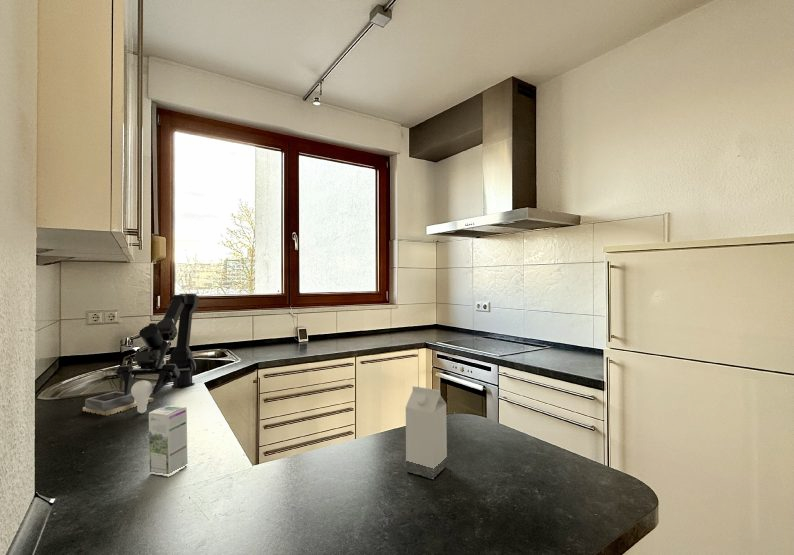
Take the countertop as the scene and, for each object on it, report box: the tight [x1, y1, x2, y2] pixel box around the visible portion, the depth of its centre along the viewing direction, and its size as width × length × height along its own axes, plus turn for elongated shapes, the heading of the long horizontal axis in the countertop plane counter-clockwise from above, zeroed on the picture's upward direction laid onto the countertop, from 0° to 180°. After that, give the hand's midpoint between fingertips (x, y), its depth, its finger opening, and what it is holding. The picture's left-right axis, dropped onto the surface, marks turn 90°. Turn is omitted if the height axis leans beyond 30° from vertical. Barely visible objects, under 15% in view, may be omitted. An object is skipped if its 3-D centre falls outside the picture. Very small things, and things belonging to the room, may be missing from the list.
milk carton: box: [405, 385, 448, 469], centre depth 90 cm, size 7×7×19 cm
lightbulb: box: [130, 379, 154, 414], centre depth 130 cm, size 6×6×11 cm
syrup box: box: [148, 405, 189, 474], centre depth 91 cm, size 6×6×14 cm
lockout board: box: [82, 390, 154, 417], centre depth 138 cm, size 16×13×4 cm
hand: (139, 394), depth 129 cm, fingers open, 8 cm apart
